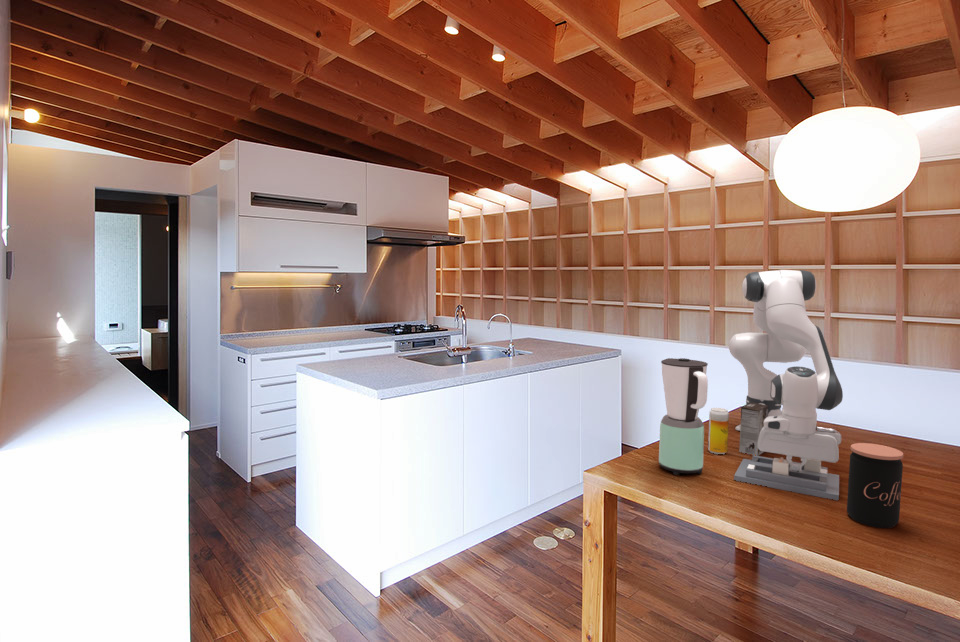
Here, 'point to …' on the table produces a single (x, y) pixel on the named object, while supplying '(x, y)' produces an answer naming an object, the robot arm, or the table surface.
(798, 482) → the switch bank
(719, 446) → the beer can
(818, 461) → the tab
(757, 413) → the coffee box
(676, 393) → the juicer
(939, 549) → the table surface
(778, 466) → the tab
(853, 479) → the coffee jar
